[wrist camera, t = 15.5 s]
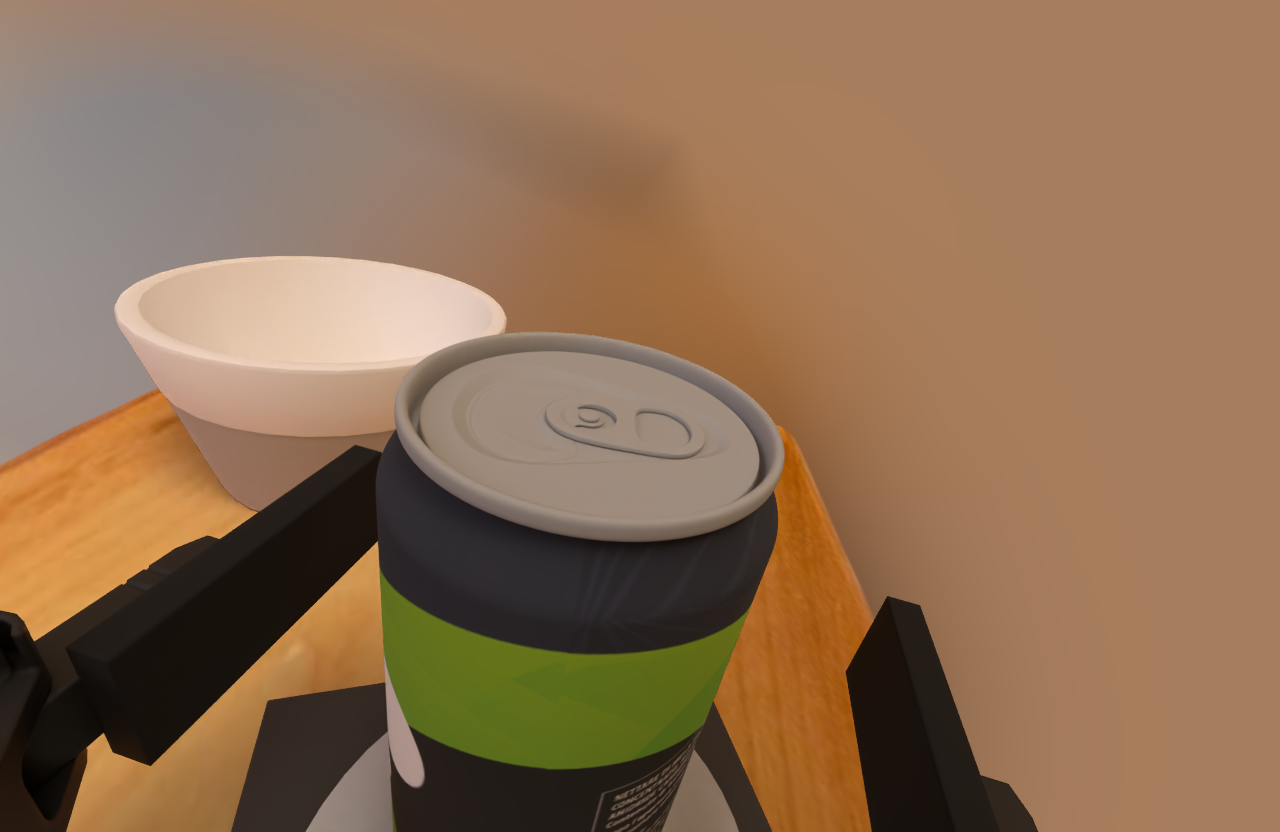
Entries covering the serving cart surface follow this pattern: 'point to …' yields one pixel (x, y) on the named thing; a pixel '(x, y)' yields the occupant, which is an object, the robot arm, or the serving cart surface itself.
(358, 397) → the bowl
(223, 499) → the serving cart surface
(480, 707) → the beverage can
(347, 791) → the scale
